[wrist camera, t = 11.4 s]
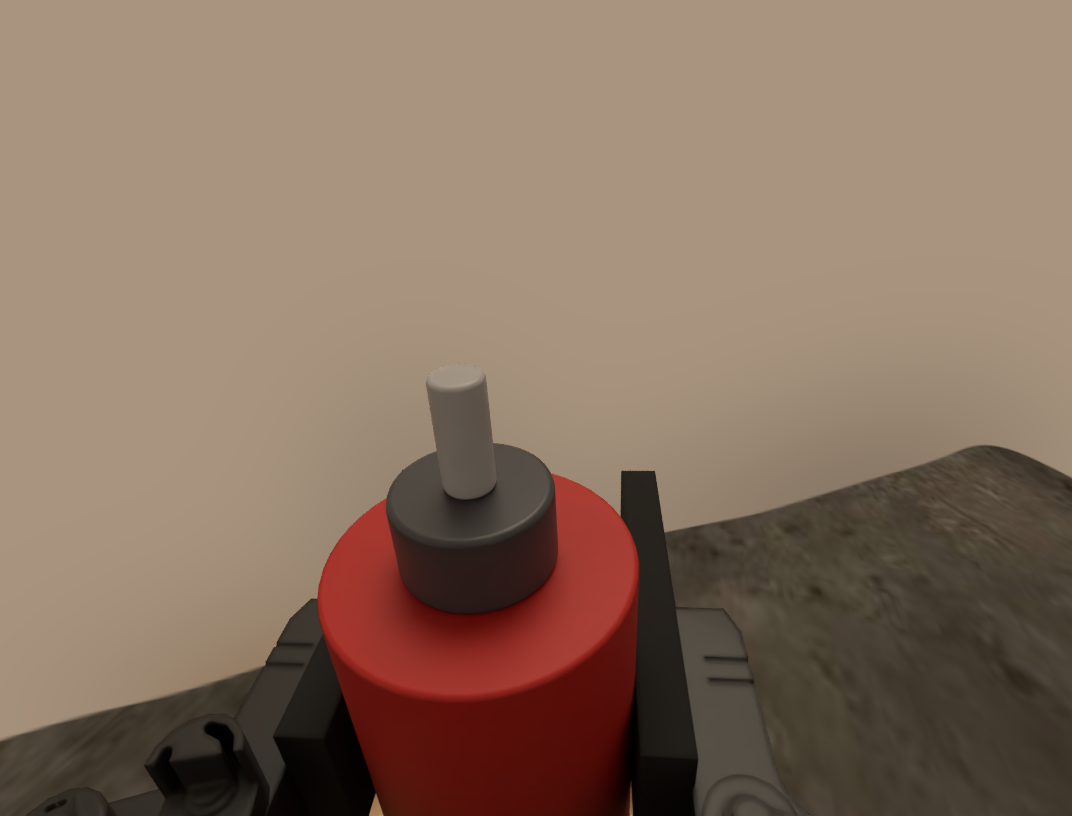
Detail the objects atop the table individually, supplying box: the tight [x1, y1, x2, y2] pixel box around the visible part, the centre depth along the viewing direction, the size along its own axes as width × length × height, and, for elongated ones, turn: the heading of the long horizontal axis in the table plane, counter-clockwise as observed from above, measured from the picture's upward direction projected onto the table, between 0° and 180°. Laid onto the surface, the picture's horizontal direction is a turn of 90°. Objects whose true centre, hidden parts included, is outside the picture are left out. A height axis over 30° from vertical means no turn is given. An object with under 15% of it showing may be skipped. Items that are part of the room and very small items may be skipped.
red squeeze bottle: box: [317, 364, 639, 816], centre depth 11 cm, size 4×4×15 cm
